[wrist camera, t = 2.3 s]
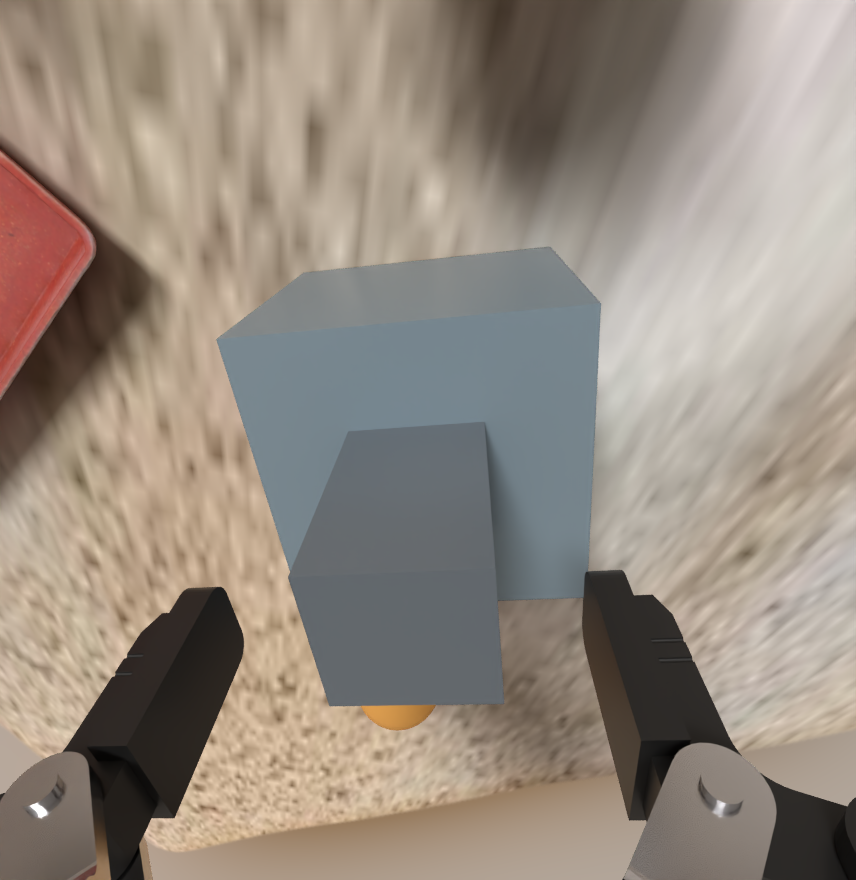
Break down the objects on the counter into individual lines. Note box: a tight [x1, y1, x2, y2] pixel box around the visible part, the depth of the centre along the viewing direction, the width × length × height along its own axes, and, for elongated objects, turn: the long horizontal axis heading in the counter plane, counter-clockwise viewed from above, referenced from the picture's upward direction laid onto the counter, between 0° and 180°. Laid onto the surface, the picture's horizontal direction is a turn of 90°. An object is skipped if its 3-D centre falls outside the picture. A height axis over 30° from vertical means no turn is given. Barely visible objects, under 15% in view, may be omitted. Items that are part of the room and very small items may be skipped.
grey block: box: [216, 247, 601, 706], centre depth 17 cm, size 10×10×15 cm
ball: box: [361, 705, 436, 730], centre depth 31 cm, size 5×5×5 cm
